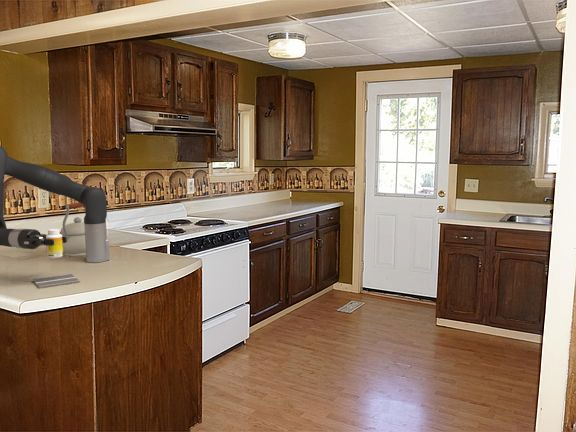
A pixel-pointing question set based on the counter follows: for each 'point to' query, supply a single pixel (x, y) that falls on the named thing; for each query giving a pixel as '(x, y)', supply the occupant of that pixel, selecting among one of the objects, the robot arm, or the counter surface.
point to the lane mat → (55, 281)
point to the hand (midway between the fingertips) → (59, 241)
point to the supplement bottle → (55, 244)
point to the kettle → (74, 234)
